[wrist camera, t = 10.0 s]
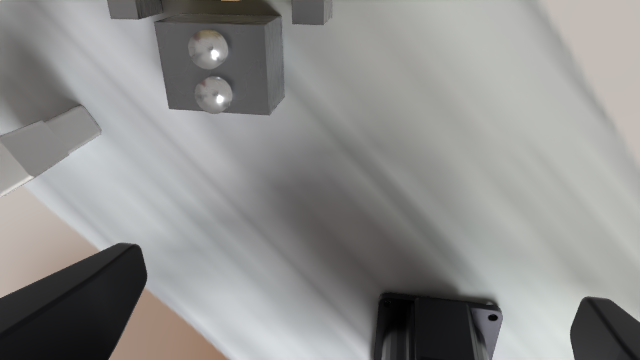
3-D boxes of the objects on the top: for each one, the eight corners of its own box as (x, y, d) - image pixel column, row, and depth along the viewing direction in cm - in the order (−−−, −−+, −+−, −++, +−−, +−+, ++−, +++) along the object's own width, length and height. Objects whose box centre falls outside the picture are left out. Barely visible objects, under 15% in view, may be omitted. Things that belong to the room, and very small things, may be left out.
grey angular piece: (52, 161, 24) (-90, 249, 17) (30, 135, 24) (-126, 214, 17) (144, 109, 22) (20, 187, 15) (122, 78, 21) (-18, 143, 14)
